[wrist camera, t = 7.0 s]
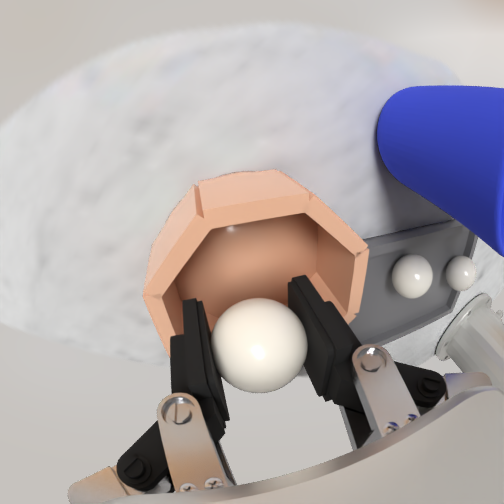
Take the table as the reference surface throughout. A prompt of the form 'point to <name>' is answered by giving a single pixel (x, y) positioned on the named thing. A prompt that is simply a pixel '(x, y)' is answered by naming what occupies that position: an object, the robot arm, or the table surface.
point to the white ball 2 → (412, 276)
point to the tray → (389, 300)
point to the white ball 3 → (461, 273)
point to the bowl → (250, 249)
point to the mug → (450, 152)
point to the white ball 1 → (259, 345)
